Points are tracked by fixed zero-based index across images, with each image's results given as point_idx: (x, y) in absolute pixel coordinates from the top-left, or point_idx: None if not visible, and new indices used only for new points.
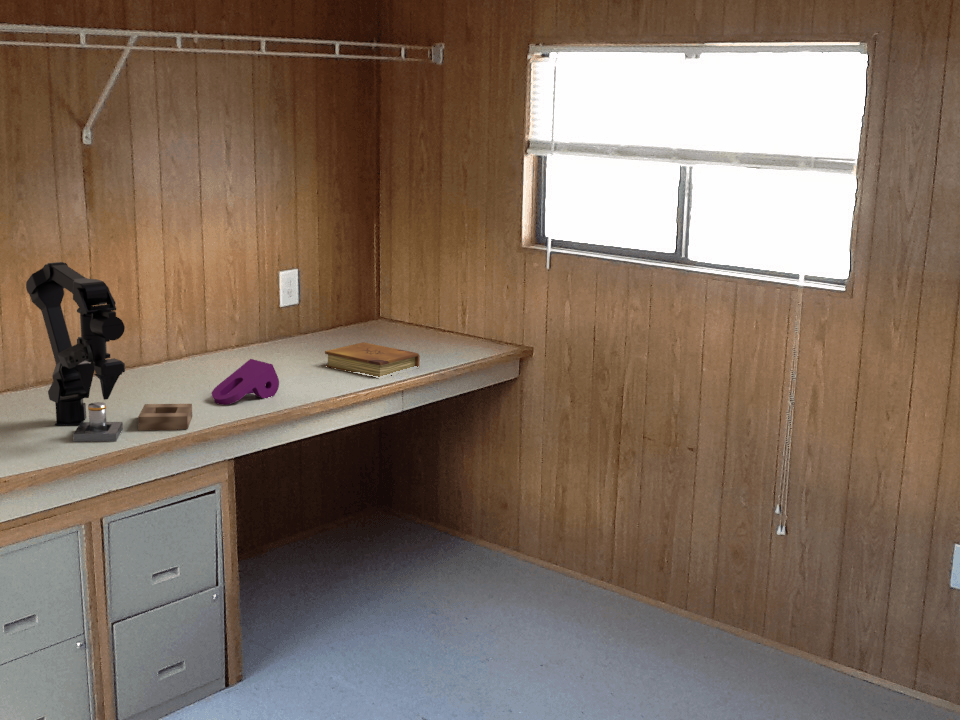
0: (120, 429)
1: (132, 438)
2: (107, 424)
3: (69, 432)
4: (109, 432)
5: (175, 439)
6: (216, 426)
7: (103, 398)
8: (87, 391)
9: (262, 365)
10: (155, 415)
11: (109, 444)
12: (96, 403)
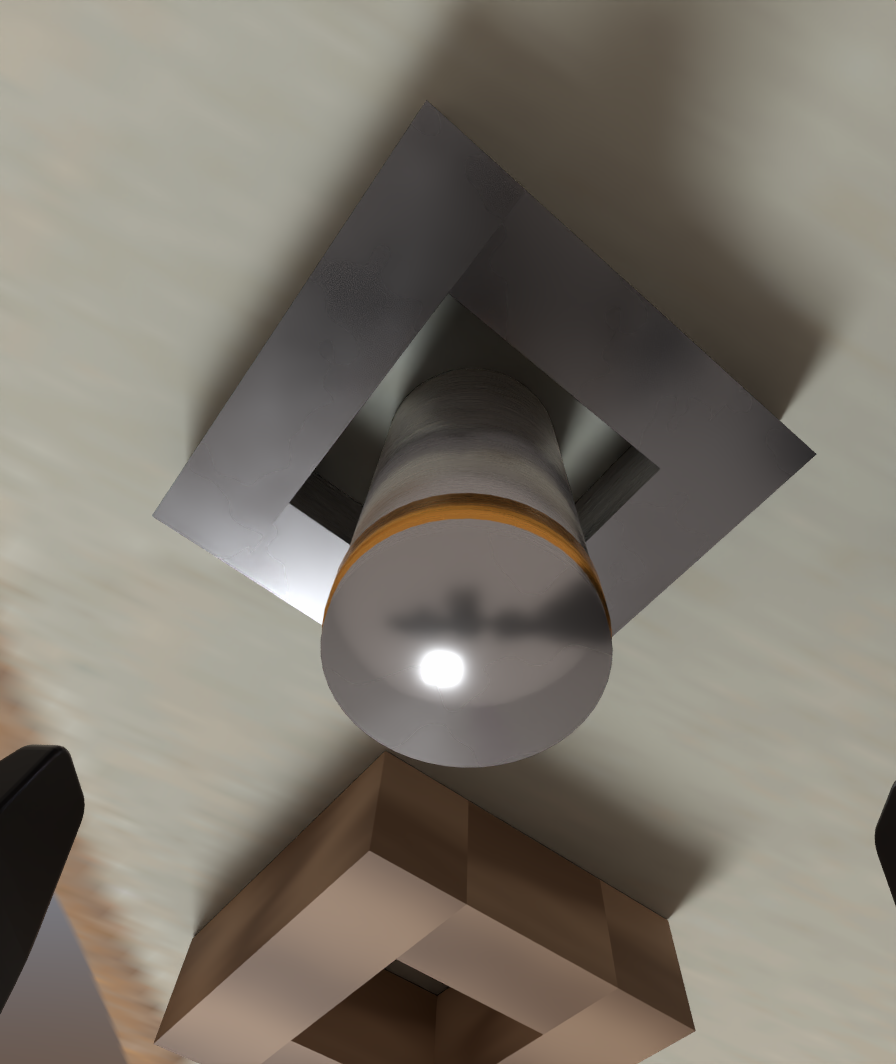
0: None
1: (197, 618)
2: None
3: (814, 277)
4: (223, 485)
5: None
6: None
7: (40, 755)
8: (888, 809)
9: None
10: (318, 943)
11: (120, 382)
12: (526, 679)
